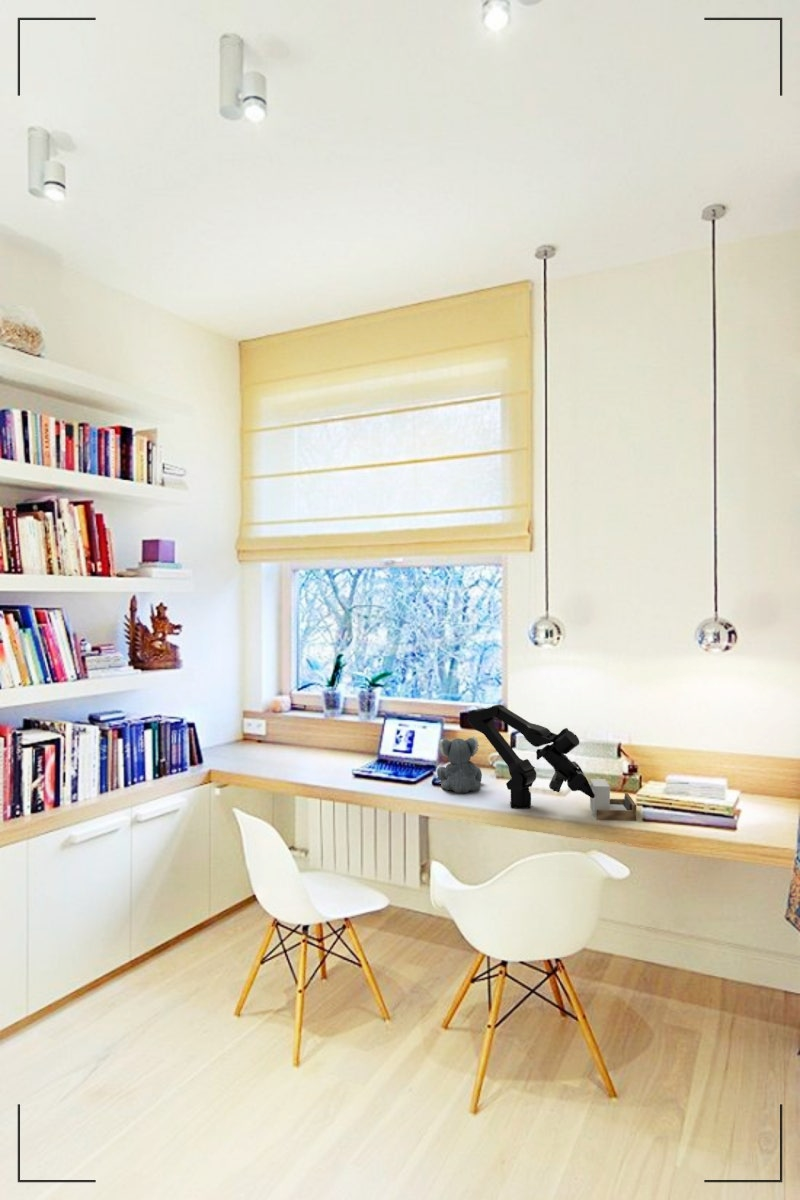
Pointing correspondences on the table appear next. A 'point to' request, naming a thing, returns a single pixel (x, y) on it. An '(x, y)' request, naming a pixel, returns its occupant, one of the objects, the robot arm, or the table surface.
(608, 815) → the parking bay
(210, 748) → the table surface
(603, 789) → the grey block with dot
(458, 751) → the koala plush
